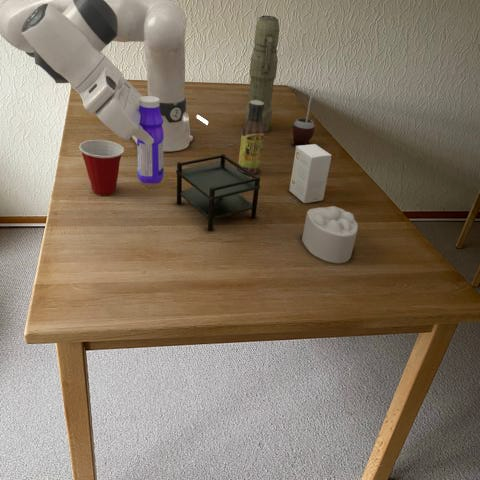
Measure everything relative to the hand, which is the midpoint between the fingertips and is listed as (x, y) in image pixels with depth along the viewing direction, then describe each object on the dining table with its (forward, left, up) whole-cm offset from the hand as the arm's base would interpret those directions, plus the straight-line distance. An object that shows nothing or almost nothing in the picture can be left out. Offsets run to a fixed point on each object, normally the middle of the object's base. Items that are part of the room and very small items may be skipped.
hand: (152, 135), depth 107 cm
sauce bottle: (-16, +39, -22) cm, 48 cm away
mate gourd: (-26, +68, -22) cm, 77 cm away
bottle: (0, -1, -10) cm, 10 cm away
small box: (+4, +44, -22) cm, 50 cm away
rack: (0, +17, -22) cm, 28 cm away
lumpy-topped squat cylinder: (+27, +31, -22) cm, 47 cm away
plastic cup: (-22, -3, -22) cm, 32 cm away
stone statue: (-44, +63, -22) cm, 81 cm away
